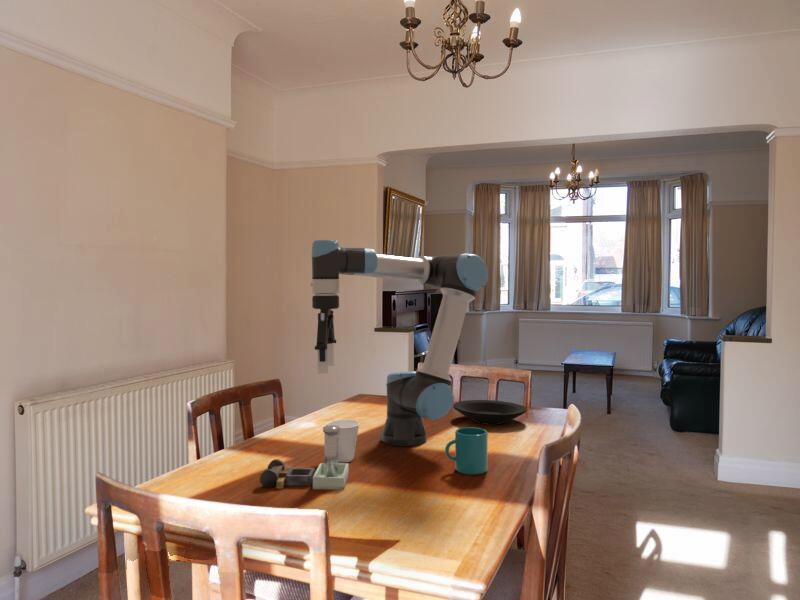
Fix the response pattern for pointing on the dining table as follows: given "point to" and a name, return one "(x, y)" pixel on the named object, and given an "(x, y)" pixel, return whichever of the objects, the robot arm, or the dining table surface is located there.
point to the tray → (330, 478)
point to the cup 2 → (469, 450)
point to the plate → (489, 411)
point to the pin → (331, 450)
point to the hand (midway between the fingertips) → (326, 369)
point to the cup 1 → (346, 439)
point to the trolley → (286, 475)
